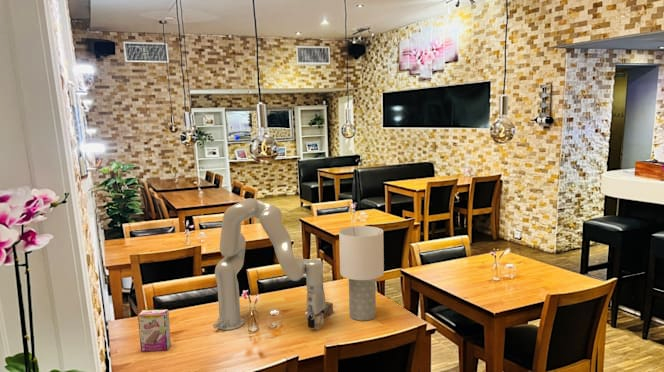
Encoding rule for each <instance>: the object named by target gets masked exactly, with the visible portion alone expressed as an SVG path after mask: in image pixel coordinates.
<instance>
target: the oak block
mask: <svg viewBox="0 0 664 372" xmlns="http://www.w3.org/2000/svg"><path fill="white" fill-rule="evenodd" d="M312 313H313V312H312ZM310 316H311V317H312V314H310ZM324 321H325V320H323V313H321V312H319V313H318V314H317V315H314V322H315V328H310V327H308V328H309V329H313V330H317V331H319V330H320V329H321V328H322V327H323V326H324V323H325V322H324Z"/></svg>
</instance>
